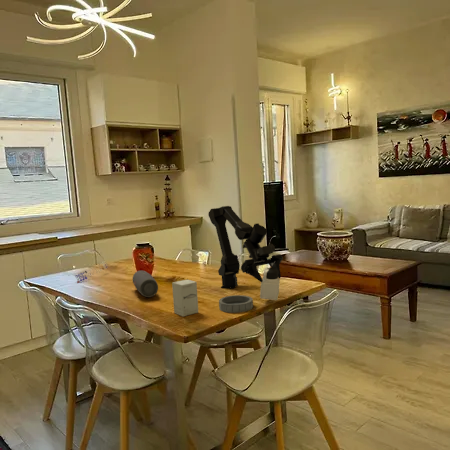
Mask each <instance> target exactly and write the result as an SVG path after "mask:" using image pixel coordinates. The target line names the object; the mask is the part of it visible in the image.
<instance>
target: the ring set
mask: <svg viewBox="0 0 450 450" xmlns="http://www.w3.org/2000/svg"><path fill="white" fill-rule="evenodd" d="M101 264H102V266H103V267H102V268H100V272H102V271H103V270H104V269H108V266H109V265H108V263H107V261H105V260H104V261H102V262H101V263H100V264H99V265H98V266H100V265H101ZM91 270H93V268H91V269H90V268H89V270H85V271H83V272H81V273H80V274H79V273H78V274H76V275H75V276H74V277H75V278H76V279H77V281H76V282H77V284H80V283H81V282H83V281H85V280H87V279H88V277H87V276H92V275H93V276H94V273H92V274H91V273H89V274H88V271H91ZM93 272H95V273H96V274H98V273H99V270H98V269H94V270H93Z"/></svg>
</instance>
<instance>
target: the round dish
mask: <svg viewBox="0 0 450 450" xmlns="http://www.w3.org/2000/svg"><path fill="white" fill-rule="evenodd" d="M253 302H254V299H253V297H251V296H249V295H245V294H244V295H243V294H242V295H240V294H238V295H237V294H236V295H235V294H234V295H227V296H224V297H223V296H222V298H219V299H218V308H219V310H220V311H221V312H224V313H231V314H237V313H245V312H248V311H250V310H253V308H254V303H253Z"/></svg>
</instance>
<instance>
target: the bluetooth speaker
mask: <svg viewBox="0 0 450 450" xmlns="http://www.w3.org/2000/svg"><path fill="white" fill-rule="evenodd" d="M132 283H133V286H134V287H135V289H136V290H137V291H138V292H139V294H141V296H143V297H145V298H151V297H154V296H156V295H157V293H158V291H159V284H158V282H157V280H156V279H155V278H154V277H153V276H152V274H151V273H149V272H147V271H145V270H137V271H136V272H135V273H133V276H132Z"/></svg>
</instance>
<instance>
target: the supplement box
mask: <svg viewBox="0 0 450 450" xmlns="http://www.w3.org/2000/svg"><path fill="white" fill-rule="evenodd" d="M197 282H198V281H196V280H195V281H194V280H191V279H183V280H182V279H181V280H178V281H173V282H171V284H172V285H171V286H172V287H171V288H172V299H173V300H172V303H173V313H175V314H176V315H179V316H180V317H186V316H190V315H193V314H198V313H199V300H198V298H199V297H198V284H197Z"/></svg>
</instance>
